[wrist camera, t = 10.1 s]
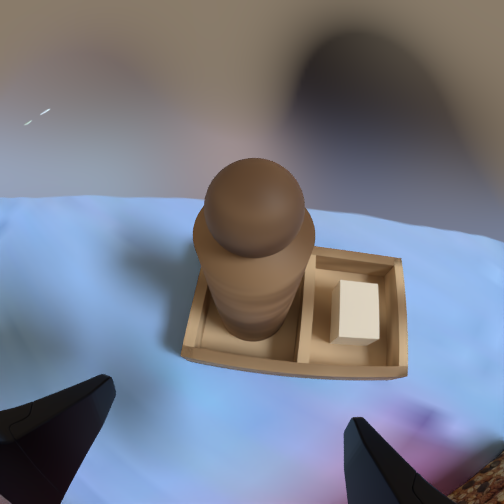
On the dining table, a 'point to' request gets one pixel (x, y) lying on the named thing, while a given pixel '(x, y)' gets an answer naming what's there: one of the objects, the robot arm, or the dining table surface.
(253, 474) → the dining table surface
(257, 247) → the pepper mill
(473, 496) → the bread
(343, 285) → the block
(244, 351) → the caddy
